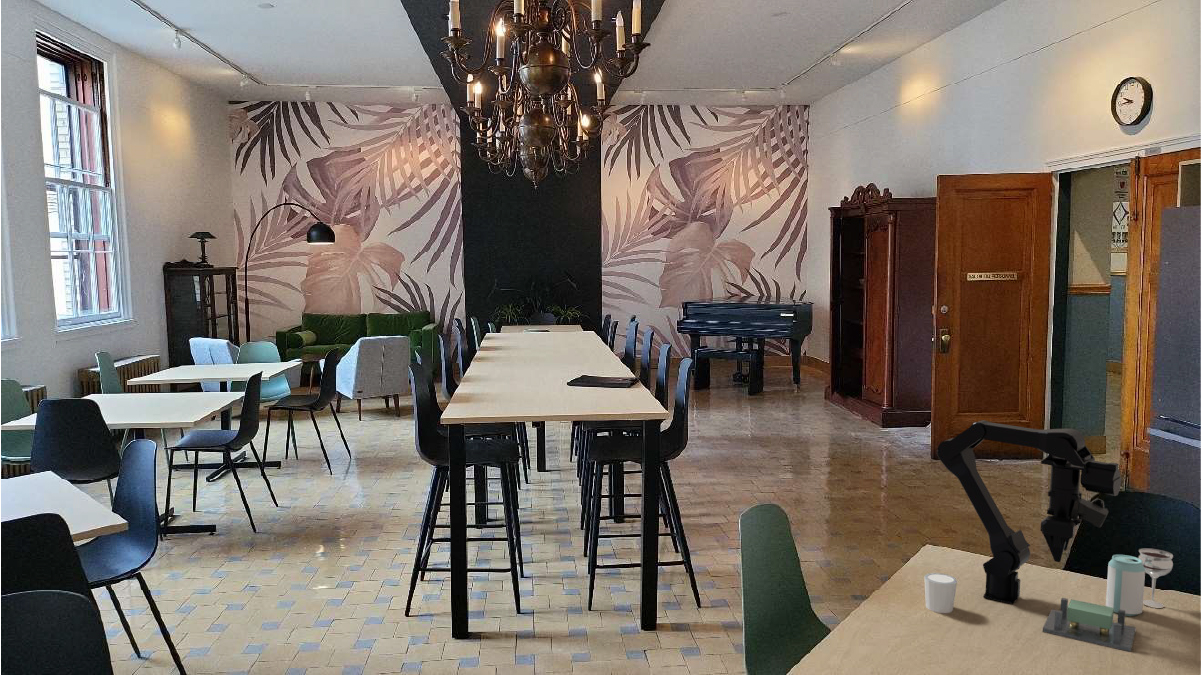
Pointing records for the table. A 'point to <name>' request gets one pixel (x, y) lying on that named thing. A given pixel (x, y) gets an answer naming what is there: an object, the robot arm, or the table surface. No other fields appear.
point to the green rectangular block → (1090, 614)
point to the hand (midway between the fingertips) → (1060, 555)
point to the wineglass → (1155, 568)
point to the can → (1125, 584)
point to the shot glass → (940, 592)
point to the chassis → (1090, 629)
